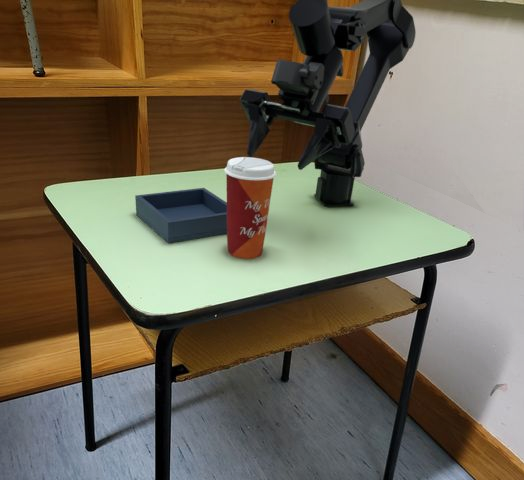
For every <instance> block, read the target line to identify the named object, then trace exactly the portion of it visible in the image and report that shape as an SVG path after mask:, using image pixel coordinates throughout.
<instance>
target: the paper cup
mask: <svg viewBox="0 0 524 480" xmlns="http://www.w3.org/2000/svg"><path fill="white" fill-rule="evenodd" d="M223 171H224V173H225V174H226V202H227V233H226V240H227V242H226V243H227V244H226V245H227V252H228V254H229V255H230V256H232V257H234V258H236V259H237V258H238V259H242V260H243V259H244V260H253V259H256V258H260V257H261V256H262V253H263V250H264V245H265V240H266V239H265V238H266V232H267V225H268V219H269V218H268V217H269V213H270V212H269V211H270V205H271V199H272V192H273V191H272V190H273V185H274V178H276V176H277V172H276V171H275V165H274V163H272V162H271V161H269V160H266V159H264V158H258V157H249V156H240V157H239V156H238V157H234V158H230V159H228V161H227V164H226V166H225V168H224V170H223Z"/></svg>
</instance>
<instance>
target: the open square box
mask: <svg viewBox="0 0 524 480" xmlns="http://www.w3.org/2000/svg"><path fill="white" fill-rule="evenodd" d="M134 197H135V200H134V201H135V214H136V216H137V217H138V218H139V219H141V220H142V221H143V222H144V223H145V224H146V225H147V226H148V227H149V228H151V230H153V231H154V232H155V233H156V234H157V235H159V236H160V237H161V238H162V239H163V240H164V241H165V242H166V243H168V244H170V243H177V242H183V241H189V240H195V239H201V238H207V237H208V238H209V237H214V236H219V235H225V234H226V235H227V201H225V200H224V199H222V198H220V197H219V196H217V195H216V194H214V193H213V192H212V191H210V190H208V189H207V188H205V187H197V188H189V189H179V190H171V191H162V192H155V193H153V192H152V193H147V194H146V193H145V194H137V195H134Z"/></svg>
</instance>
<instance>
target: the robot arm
mask: <svg viewBox="0 0 524 480" xmlns="http://www.w3.org/2000/svg"><path fill="white" fill-rule="evenodd" d="M328 3H329V2H328V0H297V1H296V2H295V3H294V4H292V5H291V6H290V8H289V11H288V18H289V22H290V25H291V28H292V29H291V30H292V31H293V34H294V38H295V41H296V44H297V48H298V51H299V52H300V53H301V54H302V55H304V56H305V58H304V60H303V62H298V61H291V60H286V59H277V60H276V63H275V67H274V69H273V73H272V77H271V81H270V83H271V84H272V85H275V86H276V87H277V88H278V89H279V90H278V92H277V96H278V97H279V100H282V103H277V102H273V101H272V99H271V98H270V95H269V93H268V92H267V91H263V90H258V89H251V88H247V89H245V90H244V91H243V92H242V94H241V96H240V98H239V99H238V102H239V104H240V106H241V108H242V110H243V113H244V114H245V117H246V118H247V120H248V122H249V133H248V142H247V151H246V154H247V157H251V158H253V156H254V155H255V154H256V152H257V151H258V150H259V149H260V146H261V145H262V143H263V142H264V141H265V139H266V137H267V136H268V134H269V133H270V131H271V128H270V127H269V126H272V125H273V123H274V122H275V118H276V119H282V120H285V121H291V122H293V123H296V124H300V125H305V126H310V127H314V129H313V133H312V135H311V137H310V139H309V140H308V142H307V145H306V146H305V148H304V150H303V152H302V154H301V156H300V158H299V161H298V163H297V169H298V170H300V171H302V170H303V169H305V168H306V167H307V166H309V165H310V164H312V162H314V169H315V170H320V175H319V176H318V177H317V180H316V188H315V193H314V194H313V197H314V198H315V199H316V200H317V201H318V202H319V203H320V204H322V206H323V207H328V208H329V207H331V208H333V207H354V205H355V203H354V201H352V195H353V190H354V183H355V179H356V178H361V177H362V174H363V171H364V169H365V164H366V163H365V158H364V154H363V150H362V149H363V139H362V129H363V127H364V125H365V122H366V121H367V118H368V116H369V114H370V112H371V110H372V108H373V106H374V104H375V101H376V99H377V97H378V95H379V93H380V91H381V89H382V87H383V85H384V82H385V80H386V78H387V77H388V74H389V72H390V70H391V69H392V68H394V67H395V66H397V65H398V64H400V63H401V62H403V61H404V60H405V57H406V56H407V54H408V53H409V51H410V49H412V48H413V46H414V43H415V40H416V35H417V34H416V26H415V20H414V17H413V15H412V14H411V13H410V12H409V11H408V10H407V9H406V8H405V6H404V5H403V3H402V0H362V1H360V2H357V3H355V4H353V5H351V6H349V7H346V6H345V7H343V6H329V4H328ZM366 36H367V43H368V50H369V55H368V57H367V59H366V60H365V63H364V65H363V67H362V70H361V71H360V74H359V76H358V78H357V80H356V82H355V84H354V86H353V88H352V91H351V92H350V95H349V97H348V98H347V100H346V103H345V105H344V106H341V105H335V104H330V103H329V101H330V95H329V92H330V90H331V88H332V86H333V84H334V82H335V80H336V78H337V77H343V76H344V65H343V63H344V56H343V52H342V51H346V52H347V51H348V52H355V51H356V50H357V49H358V48H359V47H361V45H362V44H363V43H364V42H365V37H366ZM323 105H324V107H323V108H322V106H323ZM321 109H322V110H321ZM320 111H321V112H320Z"/></svg>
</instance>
